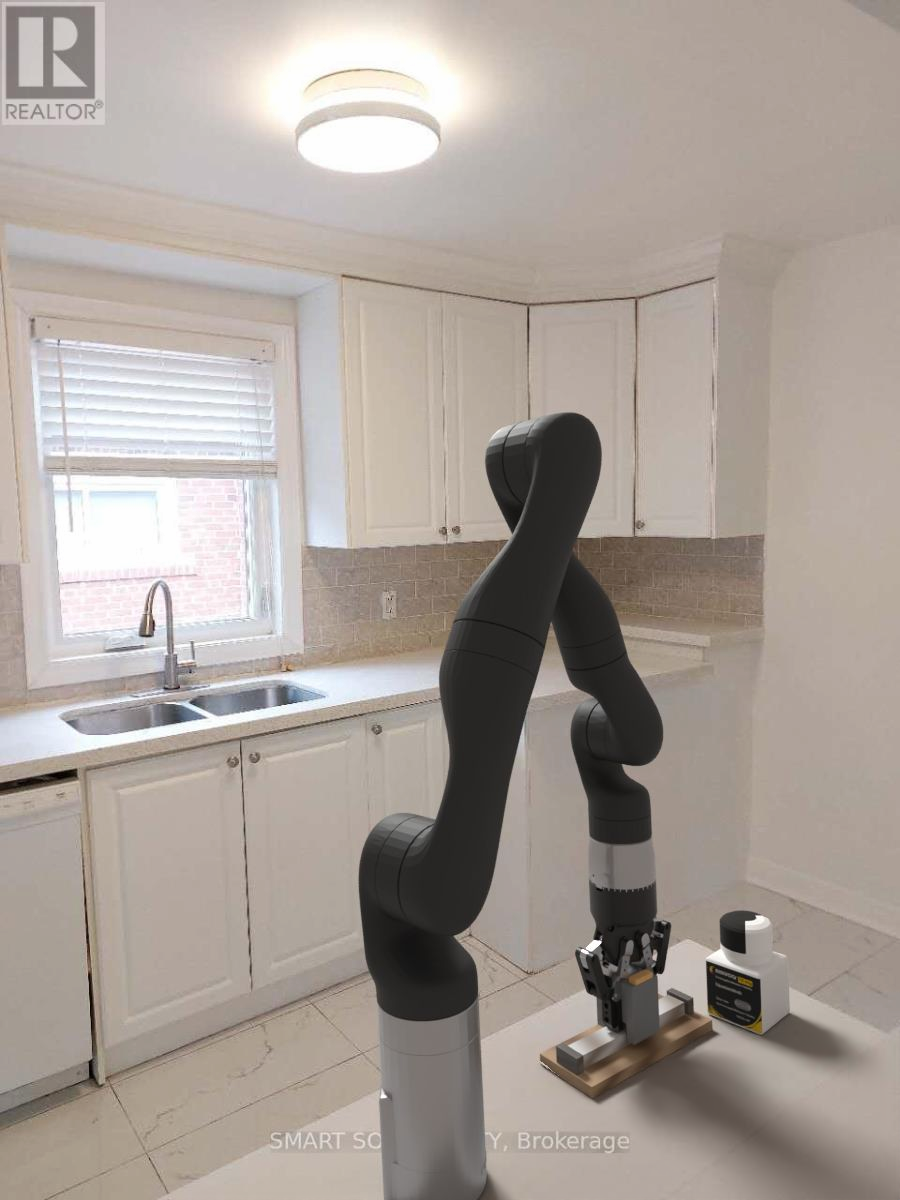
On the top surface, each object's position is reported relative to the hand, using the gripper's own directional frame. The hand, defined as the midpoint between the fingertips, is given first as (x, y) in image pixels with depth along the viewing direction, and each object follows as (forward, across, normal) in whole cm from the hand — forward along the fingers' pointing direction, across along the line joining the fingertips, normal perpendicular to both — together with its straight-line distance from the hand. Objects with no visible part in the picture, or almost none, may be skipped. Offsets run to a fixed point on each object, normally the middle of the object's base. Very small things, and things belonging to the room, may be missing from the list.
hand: (627, 1020), depth 97 cm
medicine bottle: (+3, -16, +5) cm, 17 cm away
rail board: (+3, 0, 0) cm, 3 cm away
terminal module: (+1, 0, 0) cm, 1 cm away
